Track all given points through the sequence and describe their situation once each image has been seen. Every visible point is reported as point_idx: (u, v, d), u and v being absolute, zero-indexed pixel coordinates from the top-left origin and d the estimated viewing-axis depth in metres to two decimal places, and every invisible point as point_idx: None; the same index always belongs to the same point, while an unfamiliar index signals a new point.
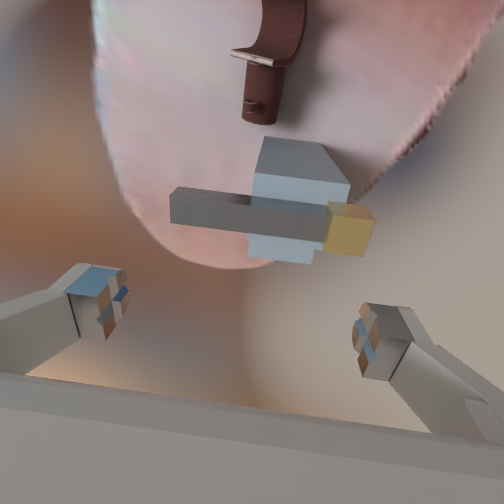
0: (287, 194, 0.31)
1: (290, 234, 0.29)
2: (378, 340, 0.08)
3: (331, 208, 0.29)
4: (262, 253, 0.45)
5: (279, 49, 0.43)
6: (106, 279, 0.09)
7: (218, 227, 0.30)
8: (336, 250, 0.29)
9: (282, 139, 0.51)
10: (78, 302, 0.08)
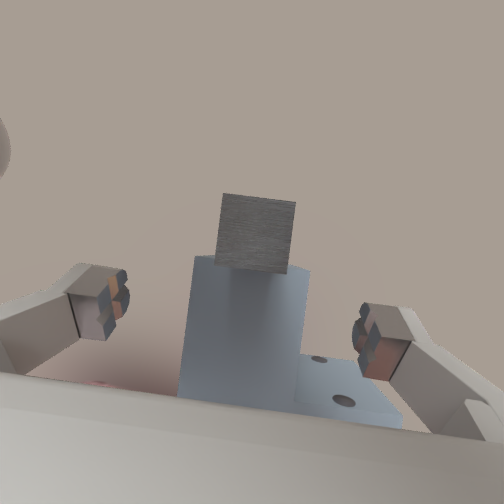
0: None
1: None
2: (378, 340, 0.08)
3: None
4: (376, 397, 0.22)
5: None
6: (106, 279, 0.09)
7: None
8: None
9: None
10: (78, 302, 0.08)
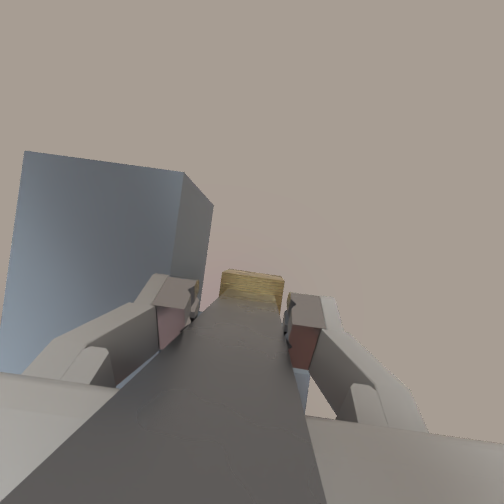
0: None
1: (268, 304, 0.15)
2: (290, 328, 0.08)
3: None
4: None
5: None
6: (187, 290, 0.09)
7: (282, 356, 0.07)
8: (278, 278, 0.19)
9: None
10: (164, 314, 0.08)
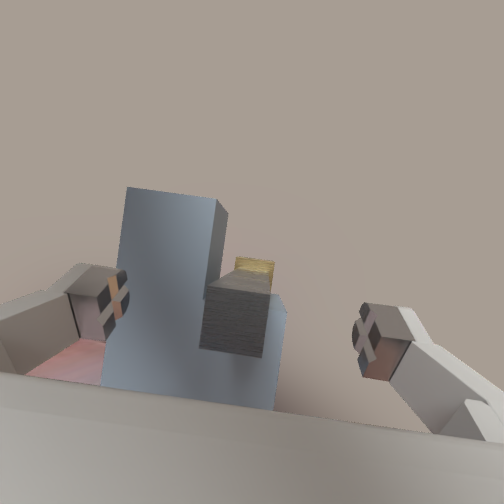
0: None
1: (263, 273, 0.26)
2: (378, 340, 0.08)
3: None
4: (275, 306, 0.27)
5: None
6: (106, 279, 0.09)
7: (266, 282, 0.18)
8: (271, 261, 0.31)
9: None
10: (78, 302, 0.08)
